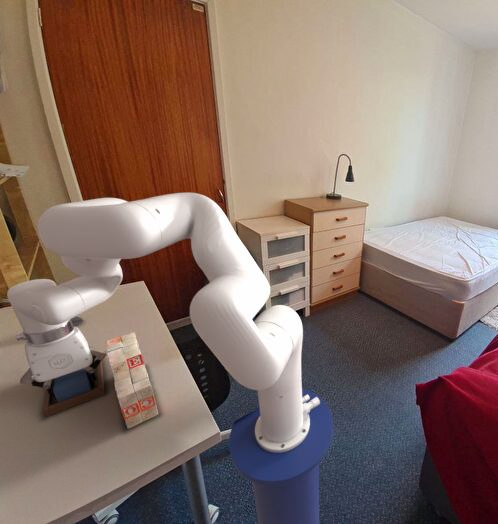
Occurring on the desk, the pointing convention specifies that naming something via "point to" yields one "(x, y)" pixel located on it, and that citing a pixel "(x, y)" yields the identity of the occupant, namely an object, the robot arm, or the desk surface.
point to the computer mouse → (76, 321)
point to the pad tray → (53, 406)
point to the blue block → (71, 385)
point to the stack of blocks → (131, 380)
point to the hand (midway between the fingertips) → (75, 388)
